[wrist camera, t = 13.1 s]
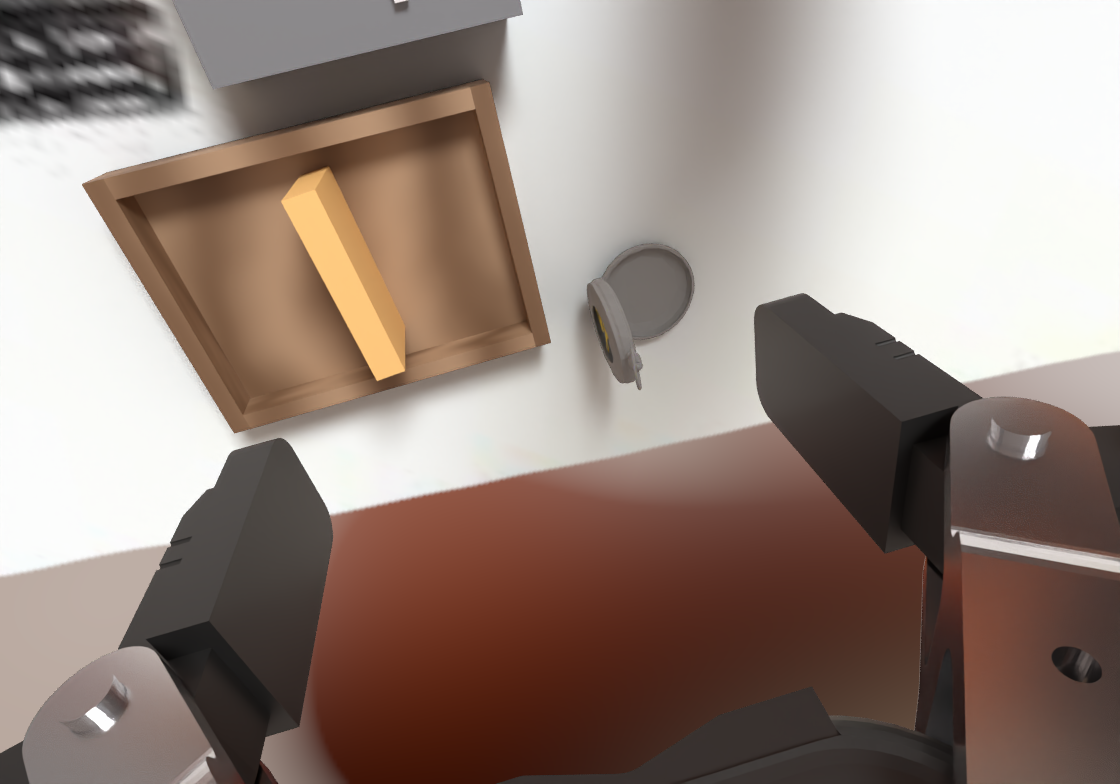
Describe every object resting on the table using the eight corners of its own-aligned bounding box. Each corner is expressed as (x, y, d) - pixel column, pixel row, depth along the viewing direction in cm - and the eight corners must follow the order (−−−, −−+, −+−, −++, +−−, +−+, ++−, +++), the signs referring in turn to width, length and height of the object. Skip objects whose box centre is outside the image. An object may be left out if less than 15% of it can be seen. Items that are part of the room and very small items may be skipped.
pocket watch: (707, 280, 42) (783, 341, 34) (624, 368, 44) (676, 447, 36) (627, 204, 38) (689, 252, 30) (540, 305, 40) (576, 377, 32)
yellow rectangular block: (315, 189, 28) (405, 371, 33) (328, 165, 33) (405, 326, 38) (280, 201, 27) (377, 381, 33) (300, 175, 32) (380, 334, 38)
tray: (482, 79, 33) (489, 82, 30) (542, 323, 41) (550, 342, 38) (107, 172, 31) (81, 184, 29) (245, 407, 39) (234, 433, 37)
